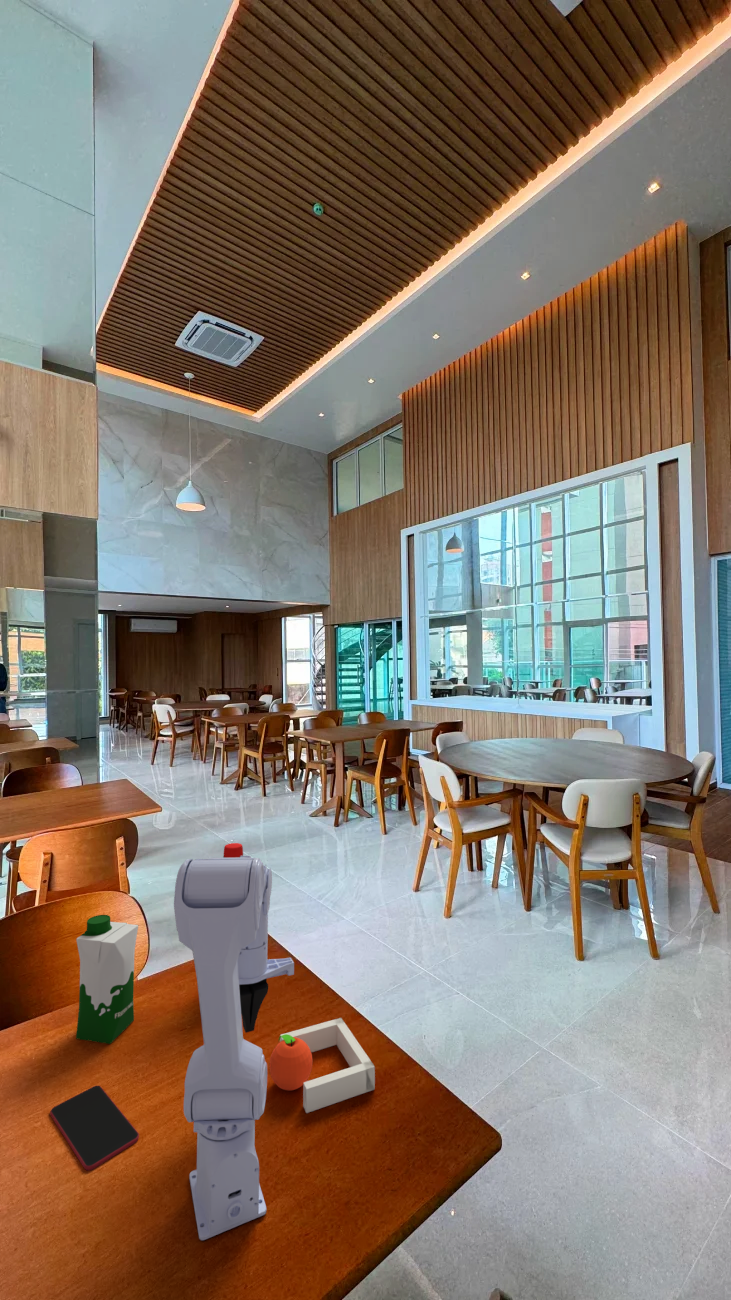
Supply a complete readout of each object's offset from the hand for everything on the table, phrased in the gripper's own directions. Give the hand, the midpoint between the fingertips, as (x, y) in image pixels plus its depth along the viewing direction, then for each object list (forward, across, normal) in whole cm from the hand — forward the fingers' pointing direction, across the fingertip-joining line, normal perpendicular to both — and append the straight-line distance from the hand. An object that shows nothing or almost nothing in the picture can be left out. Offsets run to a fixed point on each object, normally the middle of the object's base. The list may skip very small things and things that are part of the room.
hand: (248, 1028), depth 88 cm
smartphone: (+10, +22, -2) cm, 24 cm away
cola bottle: (+9, -3, -30) cm, 31 cm away
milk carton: (+9, +21, -26) cm, 34 cm away
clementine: (+10, -6, +2) cm, 12 cm away
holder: (+9, -13, +2) cm, 16 cm away
